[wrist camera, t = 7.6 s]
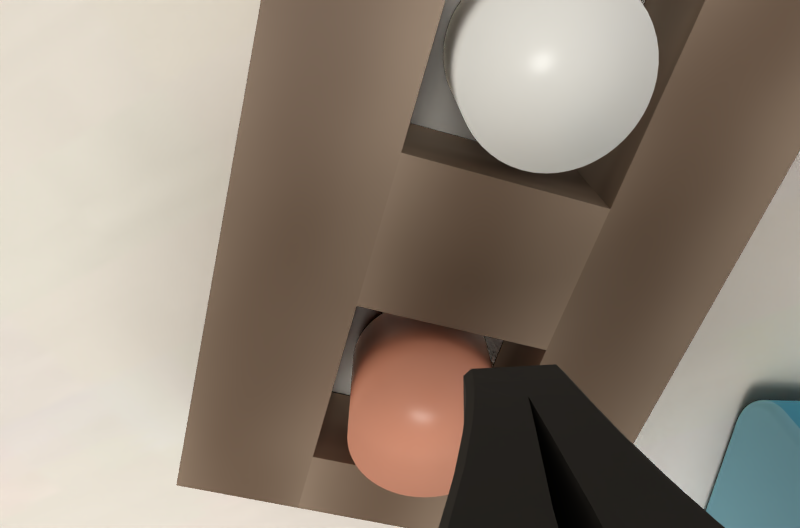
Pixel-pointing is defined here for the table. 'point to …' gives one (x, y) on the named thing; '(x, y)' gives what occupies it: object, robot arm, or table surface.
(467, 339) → the terracotta button
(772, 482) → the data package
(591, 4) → the grey button
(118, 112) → the table surface
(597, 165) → the brown wooden tray
